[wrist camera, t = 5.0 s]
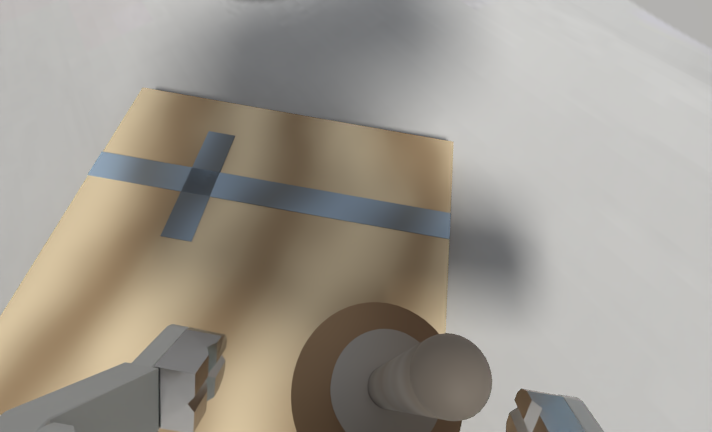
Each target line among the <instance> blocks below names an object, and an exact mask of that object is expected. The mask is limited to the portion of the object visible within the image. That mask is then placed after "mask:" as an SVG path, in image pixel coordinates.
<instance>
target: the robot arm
mask: <svg viewBox="0 0 712 432" xmlns="http://www.w3.org/2000/svg"><path fill="white" fill-rule="evenodd" d="M226 347H227V337H226V335H225V334H221V333H216V332H211V331H207V330H202V329H197V328H192V327H190V328H189V327H186V326H181V325H176V324H171V325H168V326H167V327H166V328H165V329H164V330H163V331H162V332H161V333H160V334H159V335H158V336H157V337H156V338H155V339H154V340H153V341H152V342H151V343H150V344H149V345H148V346H147V347H146V348H145V349H144V350H143V351H142V353H141V354H140V355H139V356H138V357H137V358H136V359H135V360H134V361H133V362H132V363H127V362H125V363H122V364H120V365H117V366H115V367H112V368H110V369H107V370H105V371H103V372H100V373H98V374H95V375H93V376H90V377H88V378H85V379H83V380H81V381H78V382H76V383H73V384H71V385H68V386H66V387H63V388H61V389H59V390H56V391H54V392H51V393H49V394H46V395H44V396H41V397H39V398H37V399H34V400H32V401H29V402H27V403H24V404H22V405H19V406H17V407H15V408H12V409H10V410H7V411H5V412H4V413H3V414H2V415H0V432H157V431H159V428H160V429H167V430H173V431H180V432H195V430H196V428H197V426H198V425H199V423H200V421H201V419H202V418H203V416H204V414H205V412H206V407H207V401H209V400H210V399H212V398H214V397H215V395H216V393H217V391H218V389H219V387H220V384H221V382H222V379H223V376H224V371H225V363H226V360H225V359H224V357H223V356H222V354H223V352H224V350H225V349H226ZM515 402H516V404H517V408H516V409H514V410H513V411H511V412H510V413H509V416H508V419H507V422H506V432H604V431H603V430H602V428H601V427H600V425H599V424H598V422H597V421H596V420H595V418H594V417H593V415H592V414H591V412H590V411H589V410H588V408H587V407H586V405H585V404H584V402H583V401H582V400H580V399H579V398H577V397H570V396H564V395H555V394H549V393H544V392H538V391H532V390H527V389H520V390H519V391H518V393H517V395H516V397H515Z"/></svg>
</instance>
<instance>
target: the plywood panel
mask: <svg viewBox="0 0 712 432" xmlns="http://www.w3.org/2000/svg"><path fill="white" fill-rule="evenodd" d="M452 164H453V142H452V141H446V140H440V139H435V138H429V137H423V136H417V135H412V134H406V133H400V132H395V131H389V130H383V129H377V128H372V127H366V126H360V125H355V124H349V123H343V122H337V121H332V120H326V119H320V118H314V117H309V116H303V115H297V114H292V113H286V112H280V111H274V110H269V109H263V108H257V107H251V106H246V105H240V104H234V103H229V102H223V101H217V100H211V99H206V98H200V97H194V96H189V95H183V94H177V93H171V92H166V91H160V90H154V89H148V88H142V90H141V91H140V93H139V94H138V96H137V98H136V99H135V101H134V102H133V104H132V106H131V107H130V109H129V110H128V112H127V114H126V115H125V117H124V118H123V120H122V122H121V123H120V125H119V126H118V128H117V130H116V131H115V133H114V135H113V136H112V138H111V139H110V141H109V143H108V144H107V146H106V147H105V149H104V151H103V152H101V154H100V156H99V157H98V159H97V160H96V162H95V164H94V165H93V167H92V168H91V170H90V172H89V173H88V176H87V178H86V179H85V181H84V183H83V184H82V186H81V188H80V189H79V191H78V192H77V194H76V196H75V197H74V199H73V200H72V202H71V204H70V205H69V207H68V208H67V210H66V212H65V213H64V215H63V216H62V218H61V220H60V221H59V223H58V224H57V226H56V228H55V229H54V231H53V232H52V234H51V236H50V237H49V239H48V240H47V242H46V244H45V245H44V247H43V249H42V250H41V252H40V253H39V255H38V257H37V258H36V260H35V261H34V263H33V265H32V266H31V268H30V269H29V271H28V273H27V274H26V276H25V277H24V279H23V281H22V282H21V284H20V285H19V287H18V289H17V290H16V292H15V293H14V295H13V297H12V298H11V300H10V302H9V303H8V305H7V306H6V308H5V310H4V311H3V313H2V314H1V316H0V415H2V414H3V413H4V412H5V411H7V410H10V409H12V408H15V407H17V406H19V405H22V404H24V403H27V402H29V401H32V400H34V399H37V398H39V397H41V396H44V395H46V394H49V393H51V392H54V391H56V390H59V389H61V388H63V387H66V386H68V385H71V384H73V383H76V382H78V381H81V380H83V379H85V378H88V377H90V376H93V375H95V374H98V373H100V372H103V371H105V370H107V369H110V368H112V367H115V366H117V365H120V364H122V363H125V362H127V363H132V362H133V361H134V360H135V359H136V358H137V357H138V356H139V355H140V354H141V353H142V351H143V350H144V349H145V348H146V347H147V346H148V345H149V344H150V343H151V342H152V341H153V340H154V339H155V338H156V337H157V336H158V335H159V334H160V333H161V332H162V331H163V330H164V329H165V328H166V327H167V326H168V325H171V324H176V325H181V326H186V327H189V328H190V327H192V328H197V329H202V330H207V331H211V332H216V333H221V334H225V335H226V337H227V347H226V349H225V350H224V352H223V354H222V356H223V357H224V359H225V360H226V363H225V371H224V376H223V379H222V382H221V384H220V387H219V389H218V391H217V393H216V395H215V397H214V398H212V399H210V400H209V401H207V407H206V412H205V414H204V416H203V418H202V419H201V421H200V423H199V425H198V426H197V428H196V430H195V432H297V431H296V428H295V425H294V420H293V415H292V407H291V385H292V379H293V373H294V369H295V366H296V362H297V360H298V357H299V355H300V352H301V350H302V348H303V347H304V345H305V343H306V341H307V340H308V338H309V337H310V336H311V334H312V333H313V332H314V331H315V329H316V328H317V327H318V326H319V325H320V324H321V323H322V322H324V321H325V320H326V319H327V318H329V317H330V316H331V315H333V314H335V313H336V312H338V311H340V310H342V309H344V308H347V307H349V306H353V305H356V304H361V303H367V302H381V303H389V304H393V305H397V306H400V307H403V308H405V309H408V310H410V311H412V312H413V313H415V314H417V315H419V316H420V317H421V318H423V319H424V320H426V321H427V322H428V323H429V324H430V325H431V326H432V327H433V328H434V329H435V330H436V331H437V332H438V333H439V334H444V333H445V331H446V307H447V283H448V259H449V239H450V218H451V213H450V211H451V187H452ZM157 432H180V431H173V430H167V429H160V428H159V431H157Z"/></svg>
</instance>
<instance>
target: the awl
mask: <svg viewBox="0 0 712 432" xmlns="http://www.w3.org/2000/svg"><path fill="white" fill-rule="evenodd" d="M491 389H492V376H491V370H490V367H489V364H488V362H487V360H486V358H485V356H484V355H483V353H482V352H481V350H480V349H479V348H478V347H477V346H476V345H475V344H473V343H472V342H471V341H469V340H468V339H466V338H464V337H462V336H459V335H455V334H449V333H444V334H439V333H438V332H437V331H436V330H435V329H434V328H433V327H432V326H431V325H430V324H429V323H428V322H427V321H426V320H424V319H423V318H421V317H420V316H419V315H417V314H415V313H413V312H412V311H410V310H408V309H405V308H403V307H400V306H397V305H393V304H389V303H381V302H367V303H361V304H356V305H353V306H349V307H347V308H344V309H342V310H340V311H338V312H336V313H335V314H333V315H331V316H330V317H329V318H327V319H326V320H325V321H324V322H322V323H321V324H320V325H319V326H318V327H317V328H316V329H315V331H314V332H313V333H312V334H311V336H310V337H309V338H308V340H307V341H306V343H305V345H304V347H303V348H302V350H301V352H300V355H299V357H298V360H297V362H296V366H295V369H294V373H293V379H292V385H291V407H292V415H293V420H294V425H295V428H296V431H297V432H459V431H460V427H461V422H462V420H466V419H468V418H471V417H473V416H475V415H476V414H477V413H479V412H480V411H481V409H482V408H483V407H484V406H485V404H486V403H487V401H488V399H489V397H490V393H491Z"/></svg>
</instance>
